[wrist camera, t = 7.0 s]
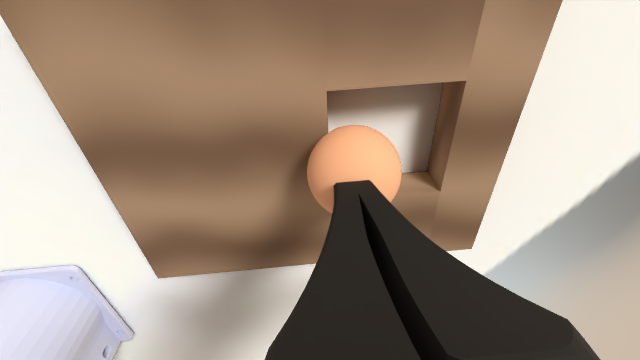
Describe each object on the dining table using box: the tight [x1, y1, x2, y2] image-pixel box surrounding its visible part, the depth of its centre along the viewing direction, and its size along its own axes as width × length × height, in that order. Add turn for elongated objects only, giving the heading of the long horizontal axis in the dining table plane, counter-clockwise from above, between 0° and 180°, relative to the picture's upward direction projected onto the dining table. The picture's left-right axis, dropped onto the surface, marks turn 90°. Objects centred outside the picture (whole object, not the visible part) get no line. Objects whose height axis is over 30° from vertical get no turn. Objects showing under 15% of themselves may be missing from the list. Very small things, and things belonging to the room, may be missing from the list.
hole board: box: [0, 0, 562, 278], centre depth 15 cm, size 16×20×2 cm
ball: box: [307, 125, 402, 213], centre depth 13 cm, size 4×4×4 cm
